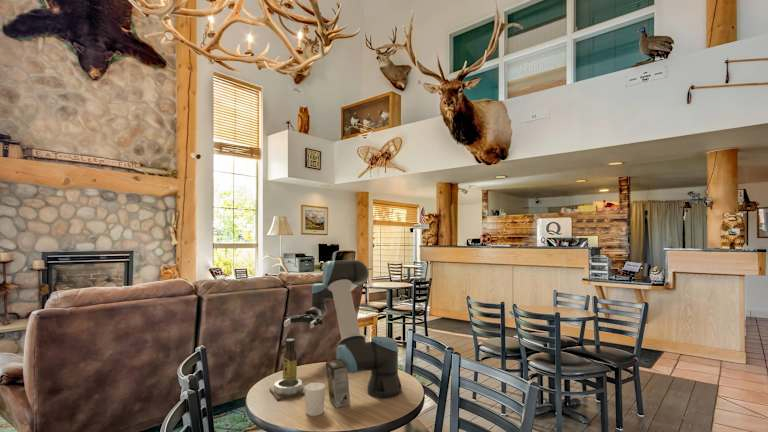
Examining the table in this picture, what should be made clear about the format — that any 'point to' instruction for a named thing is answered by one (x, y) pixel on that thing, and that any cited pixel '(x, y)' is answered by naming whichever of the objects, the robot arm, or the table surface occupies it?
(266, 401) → the table surface
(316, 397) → the white cup
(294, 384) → the steel collar
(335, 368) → the coffee box
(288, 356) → the sauce bottle
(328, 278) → the robot arm
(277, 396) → the walnut base
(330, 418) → the table surface
